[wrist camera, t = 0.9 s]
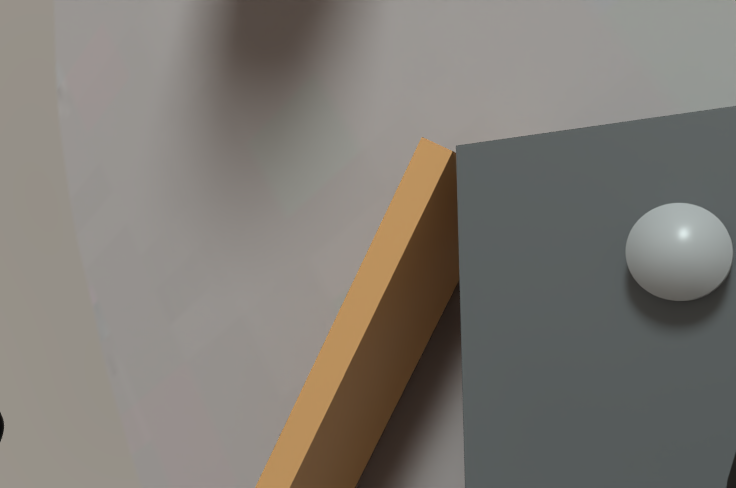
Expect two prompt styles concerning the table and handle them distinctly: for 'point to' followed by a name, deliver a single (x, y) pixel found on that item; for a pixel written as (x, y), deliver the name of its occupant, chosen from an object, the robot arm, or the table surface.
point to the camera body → (600, 305)
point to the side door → (375, 333)
